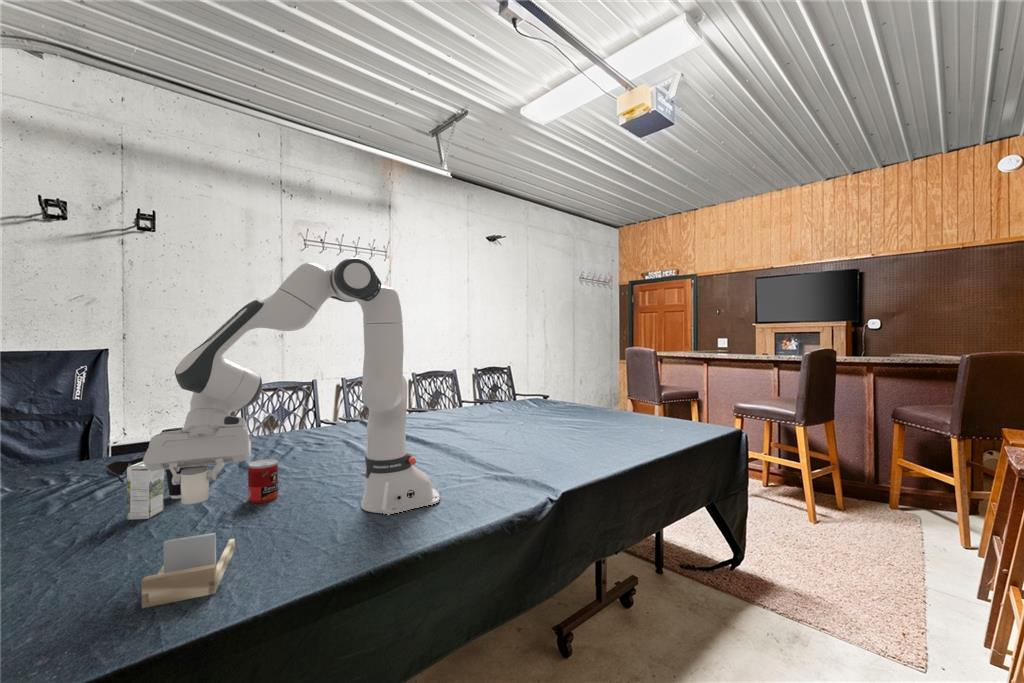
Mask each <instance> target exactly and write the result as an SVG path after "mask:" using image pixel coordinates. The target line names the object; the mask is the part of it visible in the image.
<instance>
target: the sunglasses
mask: <svg viewBox="0 0 1024 683" xmlns="http://www.w3.org/2000/svg"><path fill="white" fill-rule="evenodd" d="M143 459H144V456H143V457H139V458H135V459H132V460H125V461H124V460H121V461H114V462H111V463H109V464H108V465H106V466H105V471H106V474H107V475H108V476H112V475H114V477H116V478H117V479H118V480H119V482H125V480H124V479H123V478H122V477H121V476H120V474H118V473H121V474H123V473H124V472H127V467H129V464H130V466H132V465H134V464H137V463H140V462H142V461H143Z"/></svg>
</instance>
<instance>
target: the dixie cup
mask: <svg viewBox="0 0 1024 683" xmlns="http://www.w3.org/2000/svg"><path fill="white" fill-rule="evenodd" d="M193 467H194V466H193ZM185 468H189V467H184V468H180V469H179V471H178V472H176V473H177V474H181V470H183V469H185ZM165 473H166V474H165V475H166V481H167V488H168V494H169V496H170V499H172V500H177V499H181V484H177V485H173V484H172V477H173V474H172V472H171V471H170V469H165Z"/></svg>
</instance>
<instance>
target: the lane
mask: <svg viewBox="0 0 1024 683" xmlns="http://www.w3.org/2000/svg"><path fill="white" fill-rule="evenodd" d="M235 543H236V539H235V538H230V539H228V541H227V544H226V546H225V548H224V550H223V552H222V554H221V555H220V558H219V560H218V561H217V563H216V564H213V565H207V566H202V567H196V568H190V569H185V570H179V571H174V572H168V573H164V564H163V565H162V567H161V568H160V569H159V570H158V572H157V573H156V574H153V575H151V574H150V575H147V576H144V577H143V578H142V579H141V609H145V608H146V609H147V608H151V607H155V606H160V605H165V604H170V603H175V602H180V601H186V600H190V599H194V598H195V599H196V598H201V597H205V596H209V595H215V594H216V591H217V590H218V587H219V585H220V583H221V581H222V578H223V576H224V574H225V571H226V569H227V567H228V566H229V563H230V562H231V559H232V556H233V554H234V552H235V550H236V544H235Z"/></svg>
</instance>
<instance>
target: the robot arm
mask: <svg viewBox="0 0 1024 683" xmlns="http://www.w3.org/2000/svg"><path fill="white" fill-rule="evenodd" d="M329 298H331V299H334V300H337V301H340V302H345V303H353V302H357V303H358V304H359V305H360V308H361V311H362V315H363V318H362V321H363V325H362V326H363V346H364V347H363V348H364V350H363V351H364V356H363V363H362V364H363V367H362V381H361V382H362V387H361V399H362V402H363V404H364V406H366V408H368V410H369V411H368V416H367V418H368V419H367V426H366V456H365V457H364V476H365V484H364V485H365V486H364V491H363V496H362V501H361V504H360V507H361V508H360V509H362V510H363V511H365V512H368V513H375V514H377V513H378V514H382V513H383V514H382V515H385V514H387V515H386V516H391V515H390V514H394V513H398V514H400V513H399V512H402V513H404V512H403V511H406V510H410V509H414V508H419V507H423V506H427V507H429V506H428V505H431V506H434V505H433V504H435V505H437V504H436V503H438V502H440V501H439V500H441V496H440V494H439V491H437V489H436V488H434V487H433V485H432V482H431V478H429V476H428V474H426V473H425V472H424V471H422V470H421V469H419V468H417V467H415V466H414V465H416V464H417V459H416V457H415V456H413V455H412V454H410V453H408V452H406V450H407V448H406V444H407V443H406V441H407V440H406V436H407V434H406V433H407V432H406V428H407V427H406V426H407V425H406V424H407V409H408V407H407V406H408V382H407V379H406V378H405V376H404V375H403V374H404V350H405V349H404V348H405V347H404V330H403V329H404V327H403V313H402V306H401V301H400V298H399V294H398V293H397V291H396V289H394V288H392V287H390V286H386V285H382V281H381V280H380V278H379V277H378V275H377V274H376V272H375V270H374V268H373V267H372V265H371V264H370V263H369V262H367V261H366V260H364V259H362V258H358V257H349V258H346V259H343V260H342V261H340V262H339V263H338V264H337V265H336V266H335V267H333V268H332V269H326V268H324V267H323V266H321V265H320V264H317V263H312V262H305V263H302V264H300V265H299V266H298V267H297V268H295V270H294V271H292V272H291V273H290V274H289V275H288V276H287V277H286V278H285V280H284V281H282V283H281V284H280V286H279V287H278V288H277V290H276V291H274V293H272V294H271V295H270V296H268V297H266V298H264V299H262V300H259V299H254V300H252V301H250V302H248V303H247V304H246V305H244V306H242V307H241V308H240V309H239V310H238V311H237V312H235V313H234V314H233V315H232V316H231V317H230V318H229V319H228V320H227V321H226V322H224V323H223V324H222V325H221V326H220V327H219V328H218V329H217V330H216V331H214V333H213V334H211V335H210V336H209V337H208V338H207V339H206V340H205V341H203V342H202V343H201V344H200V345H199V346H197V347H196V348H195V349H194V348H193V350H191V351H190V352H189V353H188V354H187V355H185V356H184V357H183V358H182V359H181V360H180V362H179V363H178V364H177V366H176V368H175V370H174V376H175V379H176V382H177V384H178V385H179V387H180V388H181V389H182V390H185V391H189V392H192V395H191V399H190V402H189V407H190V409H189V411H188V412H187V415H186V416H185V421H184V424H183V427H182V429H181V430H173V431H172V430H171V431H160V432H159V433H158V434H155V435H154V436H152V437H151V438H150V440H149V443H148V448H147V449H146V451H145V453H144V455H143V457H144V459H143V463H144V465H145V467H146V468H147V469H148V470H149V471H155V470H164V471H166V469H170V471H171V472H172V474H173V477H172V484H173V485H177V484H181V474H177V473H176V472H178V471H179V469H180V468H184V467H193V466H210V465H211V466H212V465H215V466H214V467H213V468H212V470H211V469H208V475H207V479H208V481H216V480H217V477H218V476H217V475H218V474H219V473H220V472H221V471H222V469H224V467H225V464H229V463H239V462H240V463H241V462H247V461H248V460H249V459H250V458H251V456H252V442H251V438H250V434H249V428H248V423H247V420H246V419H245V418H244V417H241V416H234V415H230V414H231V413H232V412H233V413H234V412H239V411H241V410H243V409H246V408H248V407H250V406H252V405H253V404H255V403H256V402H257V401H258V400H259V398H260V396H261V393H262V391H263V380H262V377H261V375H260V374H259V373H257V372H255V371H253V370H251V369H249V368H246V366H243V365H240V364H237V363H235V362H233V361H231V360H229V359H227V358H225V357H223V355H224V354H225V353H226V352H227V351H228V350H229V349H230V348H231V347H232V346H234V344H235V343H236V342H237V341H238V340H240V339H241V338H242V337H243V336H244V335H245V334H246V333H247V332H249V331H251V330H255V329H269V330H270V329H271V330H277V331H281V332H294V331H298V330H302V329H304V328H306V327H307V325H308V324H309V323H310V322H311V321H313V319H314V317H315V316H316V314H317V313H318V311H319V310H320V309H321V307H322V306H323V304H324V303H326V301H327V300H329ZM438 504H439V503H438ZM423 508H424V507H423ZM419 509H420V508H419ZM410 511H411V510H410ZM406 512H407V511H406ZM394 515H395V514H394Z"/></svg>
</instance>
